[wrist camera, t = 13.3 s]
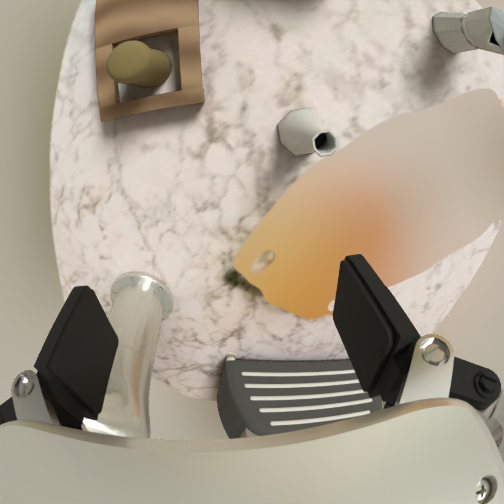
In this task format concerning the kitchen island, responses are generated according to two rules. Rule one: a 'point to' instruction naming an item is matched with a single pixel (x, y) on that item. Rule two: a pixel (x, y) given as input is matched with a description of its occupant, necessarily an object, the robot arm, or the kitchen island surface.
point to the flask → (306, 133)
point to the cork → (138, 65)
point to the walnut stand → (140, 26)
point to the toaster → (288, 396)
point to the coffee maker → (471, 30)
